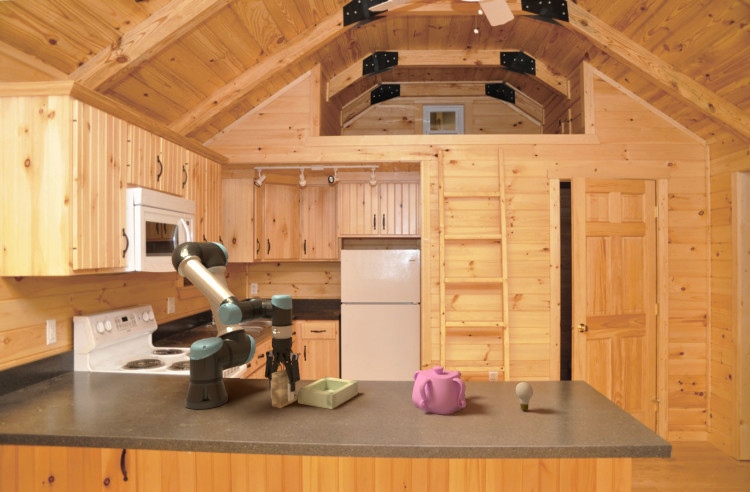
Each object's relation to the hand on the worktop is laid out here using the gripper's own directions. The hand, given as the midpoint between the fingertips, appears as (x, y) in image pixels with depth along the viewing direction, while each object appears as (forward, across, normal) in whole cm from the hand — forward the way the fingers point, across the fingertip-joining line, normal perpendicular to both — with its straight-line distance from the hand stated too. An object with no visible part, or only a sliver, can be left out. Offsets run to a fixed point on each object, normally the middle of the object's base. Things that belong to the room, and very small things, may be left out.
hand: (282, 398), depth 165 cm
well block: (+2, +12, +13) cm, 18 cm away
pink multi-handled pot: (+2, +53, +25) cm, 59 cm away
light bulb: (+2, +82, +32) cm, 87 cm away
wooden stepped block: (+2, 0, +2) cm, 3 cm away
